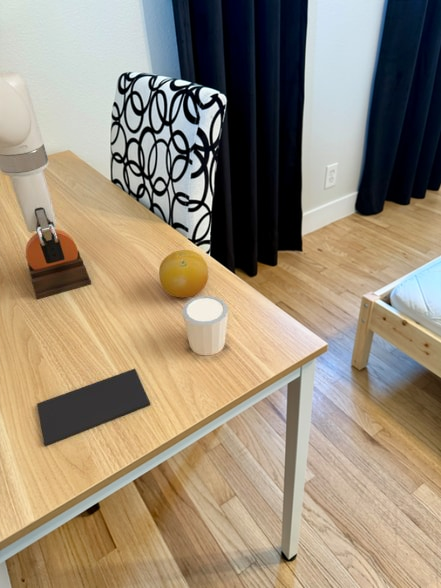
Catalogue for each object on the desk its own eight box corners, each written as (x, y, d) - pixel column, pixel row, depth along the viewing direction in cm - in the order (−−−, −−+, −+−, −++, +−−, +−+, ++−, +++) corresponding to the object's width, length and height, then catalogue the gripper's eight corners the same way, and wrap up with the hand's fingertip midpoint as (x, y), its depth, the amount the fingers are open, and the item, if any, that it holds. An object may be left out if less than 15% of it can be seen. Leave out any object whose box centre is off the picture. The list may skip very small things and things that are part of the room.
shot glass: (177, 349, 67) (173, 316, 63) (199, 323, 72) (196, 290, 68) (216, 364, 65) (214, 330, 60) (236, 335, 69) (235, 302, 65)
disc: (34, 280, 81) (19, 239, 76) (33, 276, 82) (18, 235, 77) (82, 268, 84) (71, 227, 78) (80, 264, 85) (69, 223, 80)
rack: (36, 299, 78) (31, 284, 76) (29, 269, 86) (24, 254, 84) (91, 284, 81) (87, 269, 79) (79, 256, 89) (75, 241, 87)
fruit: (167, 310, 75) (162, 272, 70) (157, 284, 81) (151, 248, 76) (215, 298, 77) (213, 261, 72) (201, 274, 83) (199, 238, 78)
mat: (45, 446, 54) (44, 443, 54) (37, 406, 59) (36, 403, 59) (150, 405, 59) (150, 402, 59) (135, 371, 64) (134, 368, 64)
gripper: (-6, 146, 74) (25, 232, 85) (1, 182, 62) (36, 278, 73) (39, 138, 77) (63, 223, 87) (55, 172, 64) (81, 266, 75)
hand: (51, 248), depth 80 cm, fingers open, 9 cm apart
